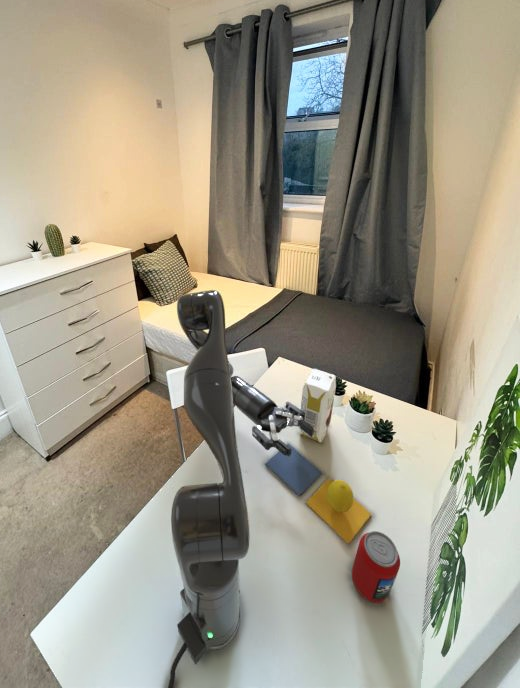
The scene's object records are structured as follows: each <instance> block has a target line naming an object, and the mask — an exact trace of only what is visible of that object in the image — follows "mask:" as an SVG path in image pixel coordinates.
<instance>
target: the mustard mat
mask: <svg viewBox="0 0 520 688" xmlns="http://www.w3.org/2000/svg"><path fill="white" fill-rule="evenodd" d="M333 481H334V480H333V479H331V478H330V477H328V478H327V479H326V480H325V481H324V482H323V483H322V485H321V486H320V487H318V489H316V491H315V492H314V493H313V494H312V495H311V496H310V497H309V498H308V499H307V501H305V504H306V505H307V506H308V507H309V508H310V509H311V510H313V511H314V512H315V513H316V515H318V516H319V517H320V518H321V519H322V521H324V522H325V523H326V524H327V525H328V526H329V527H330V528H331V529H332V530H333V531H334V532H335V533H336V534H338V536H339V537H340V538H342V539H343V540H344V541H345V543H347V544H348V545H350V544H351V542H352V541H353V540H354V538H355V537H356V536H357V534H358V533H359V532H360V530H361V529H362V528H363V526H364V525H365V523H367V521H368V520H369V518H370V517H371V516H372V513H371V512H370V511H369V510H368V509H367V508H366V507H364V506H363V505H362V504H360V502H358V501H357V499H354V498H353V504H352V506H351V508H350V509H349V510H348V511H346V512H338V511H336V510H334V509H333V508H332V507H331V506H330V504H329V502H328V499H327V490H328V487H329V485H330V484H331V483H332V482H333Z"/></svg>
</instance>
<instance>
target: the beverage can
mask: <svg viewBox="0 0 520 688" xmlns="http://www.w3.org/2000/svg"><path fill="white" fill-rule="evenodd" d="M400 567H401V557H400V554H399V551H398V549H397V546H396V545H395V543H394V541H393V540H392V538H390V537H389V536H388V535H386V534H385V533H383V532H380V531H376V530H373V531H370V532H366V533H364V534H363V535H362V536H361V537H360V539H359V542H358V545H357V549H356V552H355V556H354V560H353V563H352V568H351V579H352V581H353V582H352V583H353V585H354V587H355V588H356V590H357V591H358V593H359V595H361V596H362V597H363V598H364V599H366V600H368V601H369V602H372V603H377V604H380V603H383V602H385V601H386V600H387V599H388V597H389V595H390V593H391V591H392V589H393V586H394V583H395V581H396V578H397V576H398V573H399V570H400Z"/></svg>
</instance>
